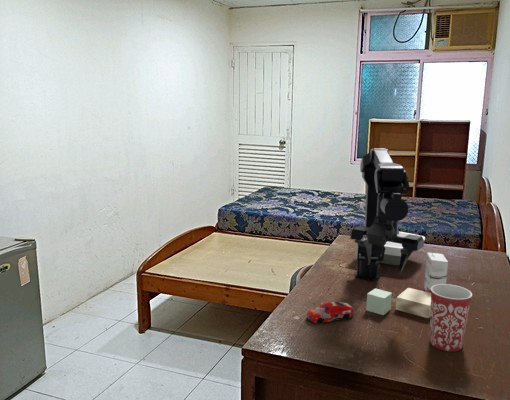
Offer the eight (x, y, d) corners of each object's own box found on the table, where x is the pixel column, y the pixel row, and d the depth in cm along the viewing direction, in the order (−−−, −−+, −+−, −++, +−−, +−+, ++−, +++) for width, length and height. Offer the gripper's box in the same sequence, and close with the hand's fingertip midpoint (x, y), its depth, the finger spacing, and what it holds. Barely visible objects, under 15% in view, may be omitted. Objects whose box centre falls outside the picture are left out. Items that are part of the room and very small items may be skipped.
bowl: (348, 262, 169) (350, 239, 167) (371, 247, 187) (372, 227, 186) (409, 274, 156) (411, 250, 155) (427, 257, 175) (429, 236, 173)
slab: (395, 310, 129) (396, 297, 128) (407, 300, 136) (408, 287, 135) (428, 319, 123) (429, 305, 123) (438, 308, 130) (439, 295, 130)
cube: (366, 310, 128) (367, 293, 127) (374, 304, 132) (375, 288, 131) (383, 315, 125) (384, 298, 124) (390, 309, 129) (391, 292, 128)
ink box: (445, 299, 136) (449, 261, 133) (428, 298, 136) (431, 260, 134) (440, 289, 144) (443, 252, 142) (423, 287, 145) (426, 251, 143)
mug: (469, 356, 104) (475, 300, 102) (426, 350, 107) (431, 295, 104) (462, 331, 116) (468, 281, 113) (424, 326, 119) (428, 276, 116)
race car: (312, 326, 119) (312, 312, 118) (303, 317, 124) (303, 303, 123) (356, 319, 123) (357, 305, 122) (346, 310, 128) (346, 297, 127)
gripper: (342, 212, 122) (339, 268, 125) (412, 223, 111) (407, 284, 114) (360, 206, 131) (357, 258, 134) (426, 215, 120) (422, 272, 123)
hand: (384, 268), depth 126 cm, fingers open, 9 cm apart
